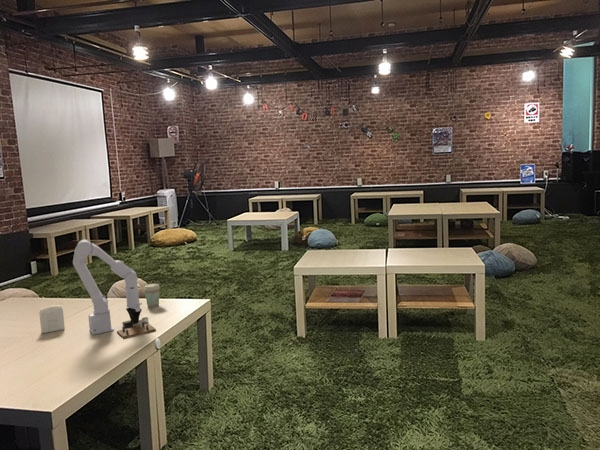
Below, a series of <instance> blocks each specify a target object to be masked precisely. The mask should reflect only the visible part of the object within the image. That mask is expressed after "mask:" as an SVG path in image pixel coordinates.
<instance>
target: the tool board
mask: <svg viewBox="0 0 600 450" xmlns="http://www.w3.org/2000/svg"><path fill="white" fill-rule="evenodd" d="M121 328H122V329H119V330H116V333H117V335H119V336H120V337H121V338H122V339H128V338H132V337H136V336H137V337H138V336H141V335H145V334H149V333H152V332H153V333H154V332H156V331H157V329H156V328H155V327H154V326H153V325H152V324H149V323H148V324H144V322H142V325H139V326H135V327H130V328H126V329H125V327H124V326H123V325H122V327H121Z"/></svg>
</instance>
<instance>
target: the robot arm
mask: <svg viewBox="0 0 600 450" xmlns="http://www.w3.org/2000/svg"><path fill="white" fill-rule="evenodd" d="M89 255H90V256H92V257H93V256H94V257H97V258H99V259H100V260H102V261H103V262H104V263H106V264H107V265H109V266H110V270H111V271H112V272H113V273H114V274H116V275H117V276H119V277H120V278H122V279H124V282H125V288H124V289H125V298H126V307H127V308H125V310H126V312H127V313H128V315H129V319H130V320H133V323H134V324H137V323H138V322H139V318H140V315H141V313H142V308H141V305H142V304H143V302H141V301H140V293H139V285H138V280H139V279H138V278H139V277H138V276H137V272H136V271H135V270H134V269H133V268H132V267H129V266H127V265H126V264H125V262H124V261H123V260H119V259H118V260H116V259H114V258H112V257H111V256H110V255H109V254H108V253H107V252H106V251H104V250H103V249H102V248H101V247H100V246H99V245H96V244H95V243H93V242H91V241H90V239H85V238H83V239H81V240H79V241H78V243H77V244H76V246H75V249H74V254H73V259H72V265H73V267H74V268H75V271H76V273H77V275H78V276H79V278H80V279H81V282H82V284H83V285H84V287H85V289H86V291H87V292H88V293H87V294H89V297H90V300H91V302H92V304H93V311H92V312H93V313H91V314H88V325H89V326H88V328H89V330H88V331H89V332H90V333H91V334H92V335H93V336H94V335H95V336H96V335H99V334H102V333H103V334H104V333H107V332H112V331H115V328H114V327H112V319H111V310H110V309H109V305H108V303H109V301H108V299H107V297H105V296H104V295H103V293H102V292H101V290H100V289H99V287H98V285H97V283H96V281H95V279H94V277H93V276H92V273H91V271H90V270H89V268H88V267H87V264H86V259H87V257H88V256H89Z"/></svg>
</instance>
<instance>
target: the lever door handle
mask: <svg viewBox="0 0 600 450" xmlns="http://www.w3.org/2000/svg"><path fill="white" fill-rule="evenodd" d="M142 322H144V325H145V324H149V317H147V316H143V317H139V322H138V323H137V324H134V323H133V320H131V319H130V320H129V319H128V320H126V321H122V327H123V326H124V327H125V329H128V328H132V327H136V326H141V325H142Z"/></svg>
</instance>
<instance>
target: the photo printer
mask: <svg viewBox="0 0 600 450" xmlns="http://www.w3.org/2000/svg"><path fill="white" fill-rule="evenodd" d="M63 309H64V308H63V306H62V305H57V304H53V305H47V306H44V307H42V308H40V309H39V312H38V313H39V321H40V331H41V332H40V333H42V334H47V333H51V332H56V331H63V330H65V328H66V327H65V319H64V317H65V315H64V310H63Z"/></svg>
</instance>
